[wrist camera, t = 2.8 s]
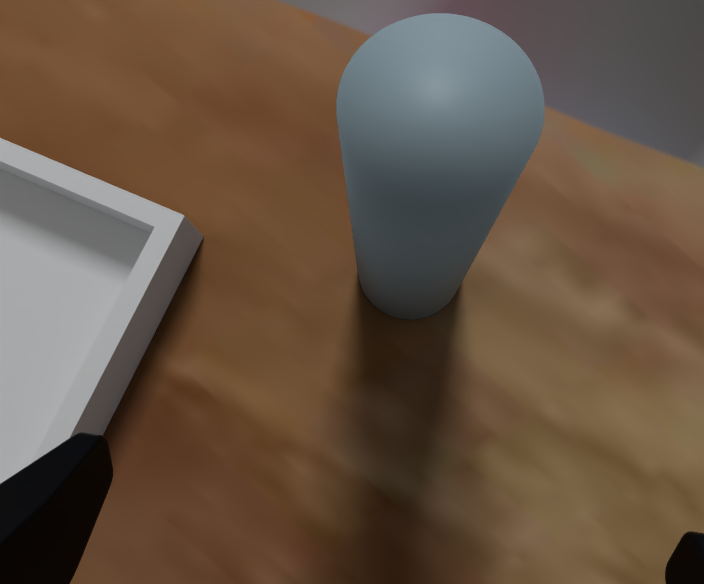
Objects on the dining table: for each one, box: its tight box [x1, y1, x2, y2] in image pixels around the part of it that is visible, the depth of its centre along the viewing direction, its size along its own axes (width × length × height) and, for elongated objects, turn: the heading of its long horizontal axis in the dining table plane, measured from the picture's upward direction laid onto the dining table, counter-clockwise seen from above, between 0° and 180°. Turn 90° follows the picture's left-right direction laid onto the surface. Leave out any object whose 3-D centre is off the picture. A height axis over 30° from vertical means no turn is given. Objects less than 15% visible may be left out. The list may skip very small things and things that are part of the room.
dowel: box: [336, 13, 545, 320], centre depth 18 cm, size 4×4×12 cm
